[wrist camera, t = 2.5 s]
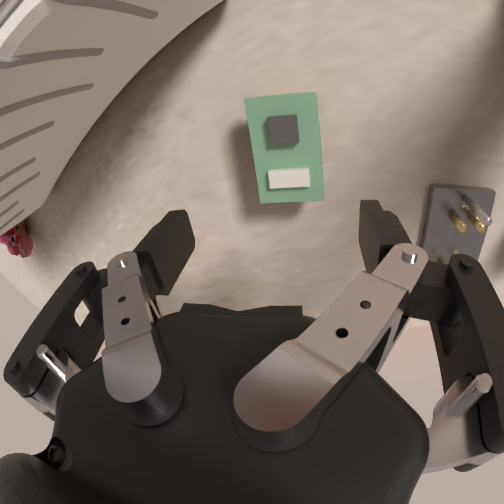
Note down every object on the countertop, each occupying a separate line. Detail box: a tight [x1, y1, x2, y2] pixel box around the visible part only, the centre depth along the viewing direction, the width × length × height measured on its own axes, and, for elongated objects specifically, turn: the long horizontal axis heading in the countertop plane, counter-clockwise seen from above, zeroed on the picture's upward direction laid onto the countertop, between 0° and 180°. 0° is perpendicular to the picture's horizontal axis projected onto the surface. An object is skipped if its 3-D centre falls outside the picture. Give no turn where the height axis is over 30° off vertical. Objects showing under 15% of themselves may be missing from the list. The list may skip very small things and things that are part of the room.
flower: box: [0, 217, 33, 258], centre depth 37 cm, size 11×10×10 cm
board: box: [244, 92, 324, 204], centre depth 23 cm, size 10×6×2 cm, turn 8°
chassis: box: [420, 184, 496, 265], centre depth 26 cm, size 14×10×6 cm
